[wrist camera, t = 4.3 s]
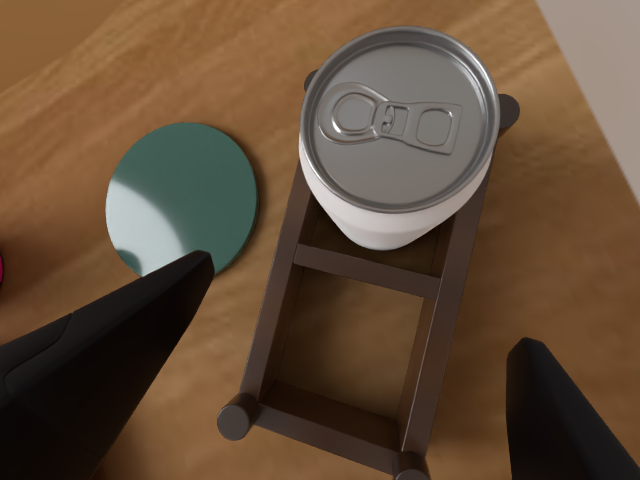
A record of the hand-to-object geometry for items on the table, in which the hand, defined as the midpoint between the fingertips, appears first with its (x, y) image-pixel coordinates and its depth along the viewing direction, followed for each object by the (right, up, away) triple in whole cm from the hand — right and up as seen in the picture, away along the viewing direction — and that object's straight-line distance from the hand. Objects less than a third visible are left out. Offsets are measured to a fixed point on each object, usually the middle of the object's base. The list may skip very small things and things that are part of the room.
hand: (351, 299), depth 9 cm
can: (+3, +4, +12) cm, 13 cm away
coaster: (-11, +4, +14) cm, 19 cm away
